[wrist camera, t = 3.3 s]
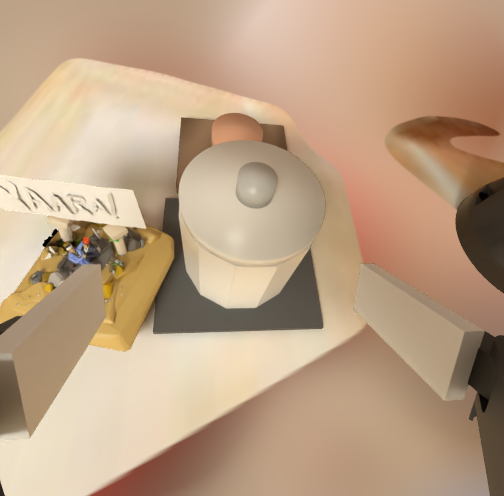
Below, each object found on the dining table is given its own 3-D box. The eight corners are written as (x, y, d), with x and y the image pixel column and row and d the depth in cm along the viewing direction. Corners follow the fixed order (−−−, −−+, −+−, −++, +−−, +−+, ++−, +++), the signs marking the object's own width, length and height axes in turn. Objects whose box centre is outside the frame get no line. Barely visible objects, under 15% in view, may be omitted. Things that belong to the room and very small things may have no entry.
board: (281, 133, 36) (283, 125, 35) (290, 198, 32) (293, 191, 31) (182, 126, 35) (181, 117, 33) (177, 193, 30) (176, 186, 29)
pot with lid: (283, 217, 30) (320, 128, 20) (294, 307, 25) (349, 248, 16) (188, 214, 28) (180, 116, 19) (184, 309, 24) (170, 245, 14)
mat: (300, 206, 31) (302, 203, 31) (321, 328, 25) (323, 327, 25) (166, 201, 29) (165, 198, 29) (153, 333, 23) (152, 332, 23)
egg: (256, 137, 34) (261, 115, 31) (260, 172, 31) (265, 151, 29) (211, 134, 33) (211, 111, 30) (211, 169, 30) (211, 147, 28)
